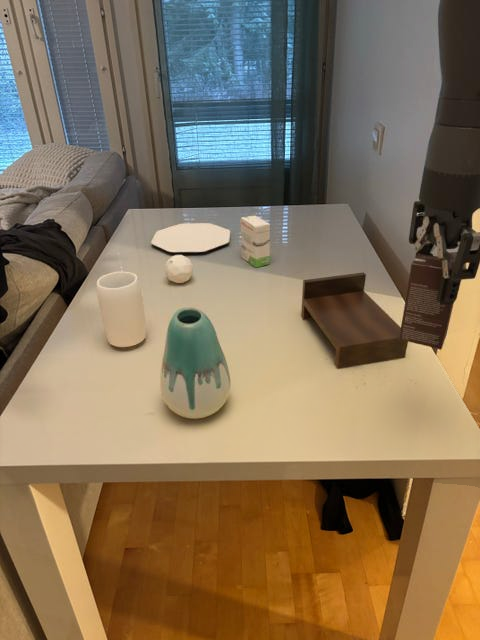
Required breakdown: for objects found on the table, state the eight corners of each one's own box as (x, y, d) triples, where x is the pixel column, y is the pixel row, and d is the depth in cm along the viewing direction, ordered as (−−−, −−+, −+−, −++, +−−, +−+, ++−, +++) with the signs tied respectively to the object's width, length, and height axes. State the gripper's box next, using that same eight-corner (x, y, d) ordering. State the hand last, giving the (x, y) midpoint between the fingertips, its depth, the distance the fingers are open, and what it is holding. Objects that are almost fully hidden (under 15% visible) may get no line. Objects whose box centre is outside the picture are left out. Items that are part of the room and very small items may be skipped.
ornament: (198, 283, 118) (182, 267, 112) (173, 291, 121) (156, 275, 115) (198, 261, 122) (183, 244, 115) (174, 269, 124) (157, 252, 118)
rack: (359, 307, 106) (363, 272, 102) (405, 357, 90) (413, 317, 85) (301, 316, 104) (303, 280, 99) (337, 369, 87) (341, 328, 83)
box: (446, 335, 68) (465, 259, 61) (441, 351, 64) (460, 272, 58) (404, 325, 70) (417, 251, 64) (396, 340, 67) (410, 263, 61)
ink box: (270, 264, 128) (271, 223, 122) (254, 268, 126) (254, 226, 120) (255, 253, 134) (255, 214, 128) (240, 257, 133) (239, 217, 126)
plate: (228, 255, 134) (228, 250, 133) (146, 256, 134) (145, 251, 134) (231, 227, 154) (231, 222, 153) (160, 228, 155) (159, 223, 154)
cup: (145, 352, 93) (135, 289, 86) (103, 353, 93) (89, 290, 86) (150, 329, 101) (142, 269, 93) (111, 331, 100) (99, 271, 93)
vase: (235, 424, 75) (232, 330, 66) (163, 432, 74) (149, 338, 65) (227, 379, 85) (223, 293, 76) (163, 386, 84) (151, 299, 75)
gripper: (528, 177, 49) (488, 313, 58) (457, 150, 61) (433, 266, 70) (460, 181, 48) (430, 318, 57) (402, 153, 60) (384, 269, 69)
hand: (432, 289), depth 63 cm, fingers closed on box, 6 cm apart
